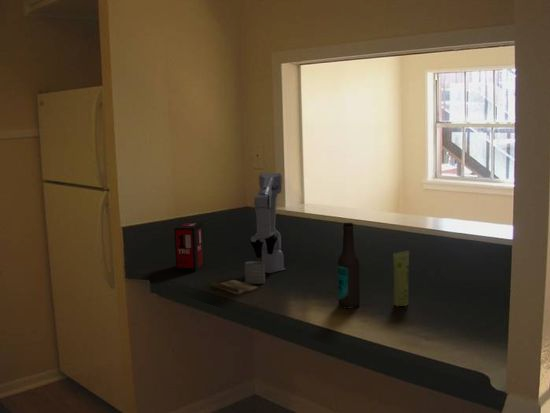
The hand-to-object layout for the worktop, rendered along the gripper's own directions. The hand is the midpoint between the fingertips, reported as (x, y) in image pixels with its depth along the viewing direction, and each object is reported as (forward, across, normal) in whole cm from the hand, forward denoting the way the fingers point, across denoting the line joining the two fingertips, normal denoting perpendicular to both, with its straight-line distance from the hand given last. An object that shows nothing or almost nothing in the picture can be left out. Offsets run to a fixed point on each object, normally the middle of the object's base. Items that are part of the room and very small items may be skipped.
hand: (264, 255), depth 258 cm
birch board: (+10, +16, -3) cm, 19 cm away
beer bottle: (+10, +12, +48) cm, 51 cm away
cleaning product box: (+11, +1, -43) cm, 45 cm away
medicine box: (+11, +6, -1) cm, 12 cm away
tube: (+10, +2, +63) cm, 64 cm away
